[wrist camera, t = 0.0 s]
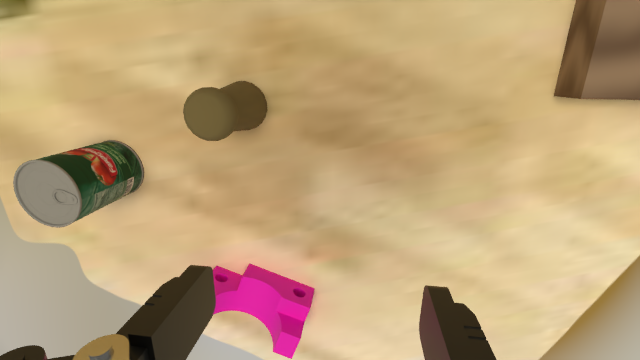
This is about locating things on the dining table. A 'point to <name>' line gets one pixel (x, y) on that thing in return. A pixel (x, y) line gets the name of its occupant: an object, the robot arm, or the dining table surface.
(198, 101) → the cork
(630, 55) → the walnut base block
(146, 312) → the robot arm
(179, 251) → the dining table surface
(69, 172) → the canned tomato
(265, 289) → the toy block
